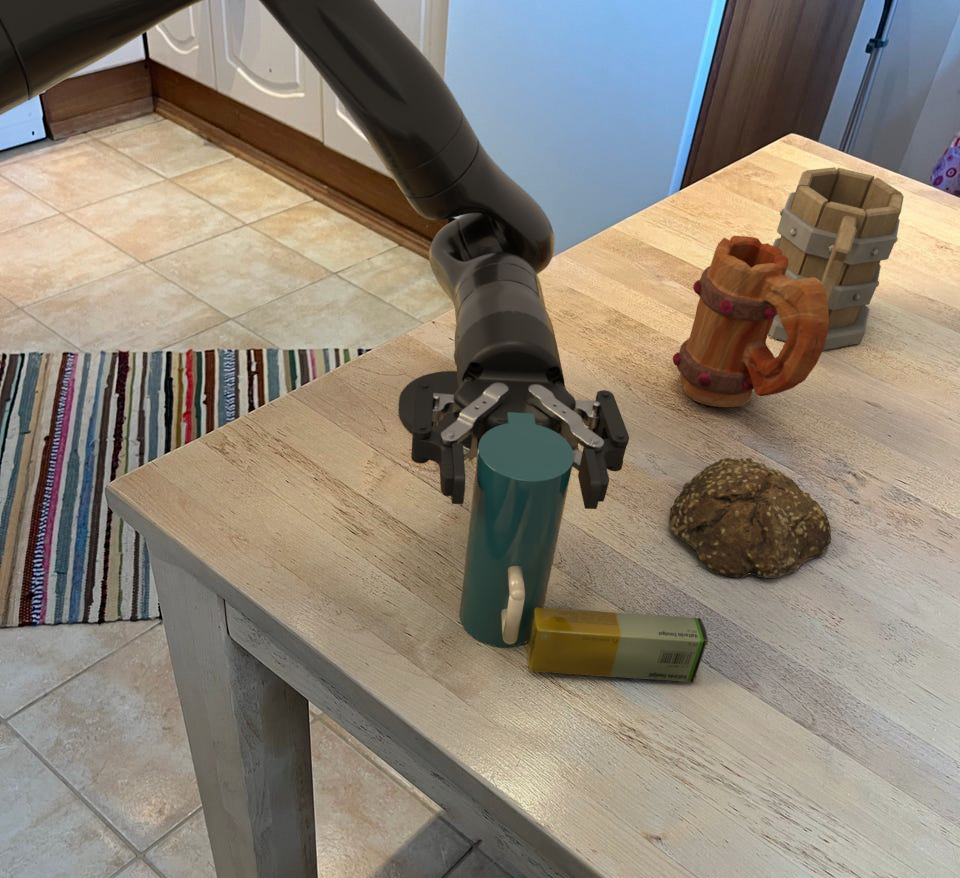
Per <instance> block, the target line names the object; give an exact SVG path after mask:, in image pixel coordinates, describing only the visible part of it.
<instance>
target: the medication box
mask: <svg viewBox="0 0 960 878" xmlns="http://www.w3.org/2000/svg"><path fill="white" fill-rule="evenodd" d="M707 632H708V631H707V630H706V627H705V625H704V623H703V620H702V618H701V617H693V616H692V617H691V616H678V615H677V616H675V615H660V614H646V613H633V612H632V613H630V612H615V611H614V612H613V611H601V610H600V611H598V610H585V609H584V610H583V609H570V608H569V609H568V608H552V607H544V608H540V607H536V608H535V609H534V616H533V621H532V625H531V631H530V637H529V640H528V643H526V645H525V648H524V649H526V660H527V665H528V668H529V671H530V672H534V673H535V672H536V673H551V674H566V675H579V676H593V677H610V678H625V679H639V680H655V681H656V680H657V681H671V682H672V681H673V682H686V683H690V682H691V684H693V683H694V682H695V681H696V679H697V673H698V670H699V667H700V665H701V662H702V658H703V656H704V652H705V649H706V647H707V646H708V645H709V644H708V643H709V637H708V633H707Z"/></svg>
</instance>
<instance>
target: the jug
mask: <svg viewBox="0 0 960 878" xmlns="http://www.w3.org/2000/svg"><path fill="white" fill-rule="evenodd" d="M573 460H574V454H573V450H572V448H571V446H570V444H569V443H568V442H567V441H566V439H565V438H563V437H562V436H561V435H559V434H558V433H556V432H555V431H553V430H551V429H548V428H546V427H543V426H540V425H536V423H535V416H534V414H533V413H516V412H508V413H507V418H506V424H502V425H499V426H496V427H494V428H492V429H490V430H489V431H487V432H486V433H485V434H484V435H483V436H482V437H481V439H480V441H479V445H478V453H477V456H476V463H475V470H474V472H475V473H474V479H473V480H474V481H473V490H472V498H471V507H470V516H469V517H470V518H469V525H468V534H467V542H466V543H467V544H466V552H465V560H464V569H463V578H462V586H461V597H460V605H459V621H460V624H461V625H462V627H463V629H464V630H465V631H466V633H467V634H468V635H469V636H470V637H472V638H473V639H475V640H476V641H478V642H480V643H483V644H485V645H487V646H492V647H496V648H497V647H498V648H510V647H515V646H520V645H522V644H525V643H527V642H529V637H530V631H531V625H532V621H533V616H534V609H535V608H536V607H540V608H545V603H546V597H547V594H548V588H549V582H550V579H551V574H552V568H553V564H554V559H555V554H556V548H557V543H558V538H559V534H560V529H561V525H562V518H563V514H564V509H565V505H566V500H567V495H568V490H569V484H570V479H571V474H572V470H573V466H572V465H573Z"/></svg>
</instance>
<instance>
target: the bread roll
mask: <svg viewBox="0 0 960 878" xmlns="http://www.w3.org/2000/svg"><path fill="white" fill-rule="evenodd" d="M668 519H669V520H668V521H669V529H670V531H671V533H672V534H673V535H674V536H676V537H677V538H679V539H680V540H682V541H683V542H684V543H686V544H688V545H690V546H691V547H692V548H693V549H694V551H695V552H696V553H697V555H698V558H699V560H700V562H701V563H702V564H703V565H704V566H705V567H706V568H707V569H708V570H709V571H710V572H712V573H714V574H716V575H721V576H726V577H730V578H737V579H739V578H743V577H746V576H748V575H753V576H756V577H760V578H766V579H775V578H780V577H782V576H783V575H787V574H793V573H794V572H795V571H797V570H799V569H800V566H802V564H803V563H804V562H807V561H808V560H810V559H818V558H820V557H822V556H823V555H825V554H826V551H825V548H826V547H828V546H829V545H831V543H832V528H831V524H830V521H829V520H830V519H829V517H828V515H827V513H826V512H825V511H824V509H823V507H821V505H820V504H819V503H818V502H817V501H816V500H814V499H813V497H812V496H811V494H810V493H809V492H805V491H803V490H802V489H801V488H800V487H799V484H797V483H796V482H795V480H793V479H792V478H791V477H789V476H787V475H786V474H785V472H781V470H780V471H779V470H778V469H775V468H773V467H772V468H769V467H767V466H766V464H765V463H764V462H757V461H754V460H753V459H752V457H746V458H745V459H743V458H742V457H740V458H735V457H734V458H732V457H724V458H721V459H719V460H718V461H715V462H713V463H712V464H711V463H710V464H709V465H707V466H705V467H704V469H701V471H700V472H698V473H696V474H695V476H693V477H692V479H691V480H690V481H689V482H685V483H684V484H683V486H682V490H681V492H680V493H679V494H678V496H677V497H676V498H675V499H674V501H673V504H672V505H671V506H670V508H669V518H668Z"/></svg>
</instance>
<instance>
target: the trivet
mask: <svg viewBox="0 0 960 878" xmlns="http://www.w3.org/2000/svg"><path fill="white" fill-rule="evenodd" d="M422 381H426V382H430V383H432V384H433V386H434V392H433V393H442V394H455V392H456V391H457V390H458V380H457V370H442V371H435V372H430V373H426V374H424V375H421V376H419V377H416V378H415V379H412V381H410V382H409V383H407V384H406V385H405V386H404V388H403V389H402V391H401V392H400V395H399V397H398V409H397V410H398V417H399V419H400V422H401V424H402V425H403V427H404V428H405V430H406V431H408V432H409V433H410V434H411V435H412V434H413V418H414V405H415V392H416V384H417V383H419V382H422ZM455 421H456V419H455V417H454V416H453V413H448V414H446V415H445V416H444V418H443V419H442V420H441V421H438V426H437V427H432V428H431V431H434V432H438V433H442V431H444V430H445V429H446V428H448V427H449V426H450V425H451V424H453V423H454V422H455Z"/></svg>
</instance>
